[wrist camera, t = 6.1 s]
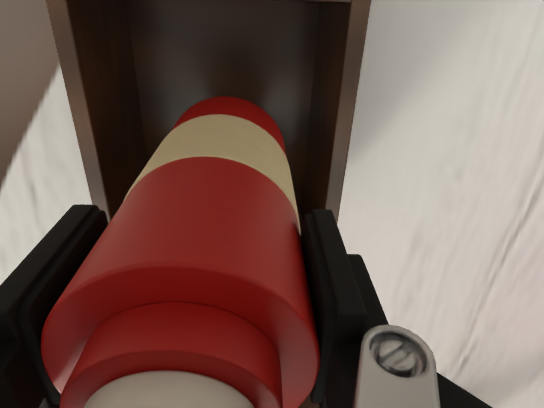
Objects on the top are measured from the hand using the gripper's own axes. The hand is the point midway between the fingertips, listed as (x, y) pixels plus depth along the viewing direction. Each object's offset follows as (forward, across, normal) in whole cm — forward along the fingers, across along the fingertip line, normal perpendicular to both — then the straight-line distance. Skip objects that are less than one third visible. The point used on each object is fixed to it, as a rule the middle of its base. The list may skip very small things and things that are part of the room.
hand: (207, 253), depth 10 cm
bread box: (+16, +1, 0) cm, 16 cm away
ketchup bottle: (+8, 0, 0) cm, 8 cm away
